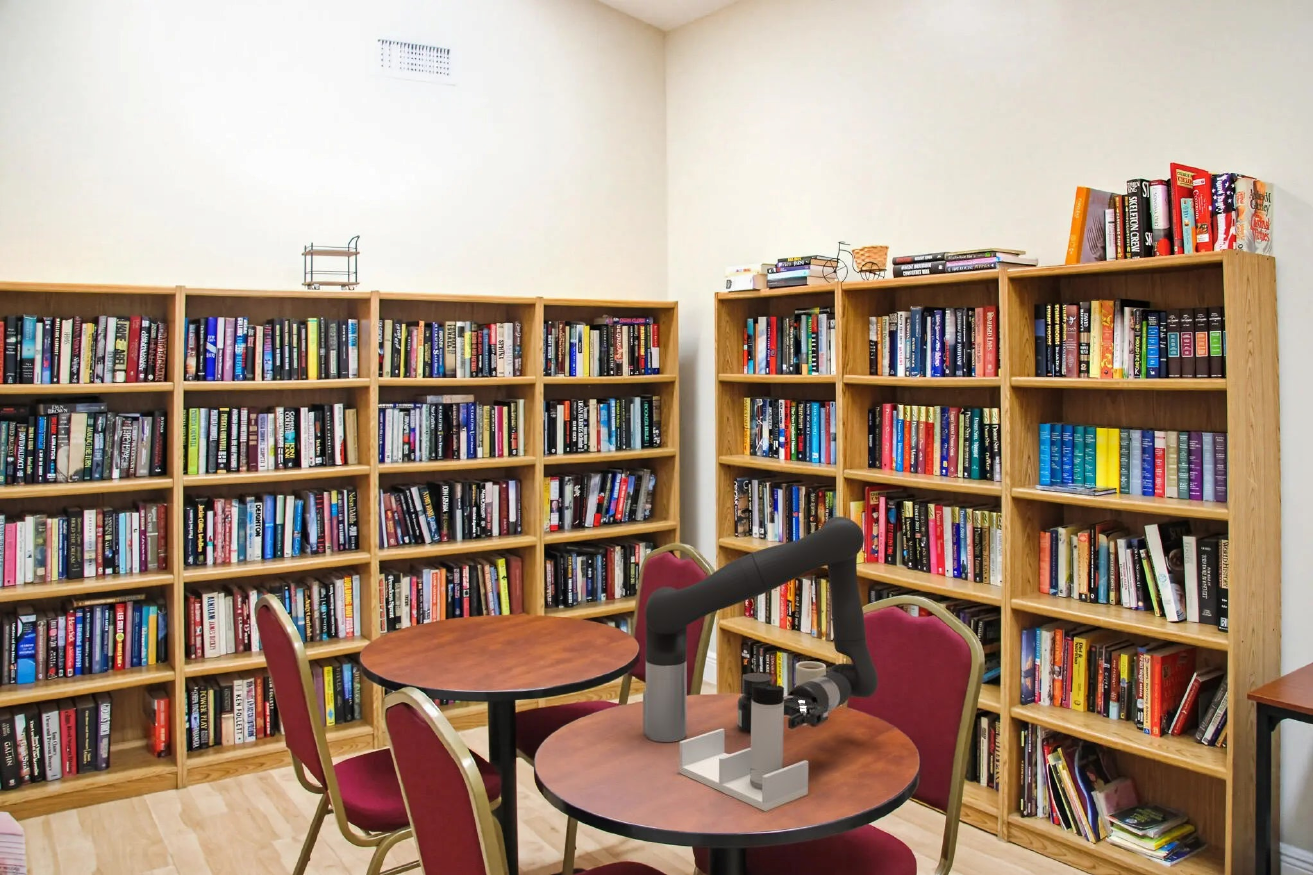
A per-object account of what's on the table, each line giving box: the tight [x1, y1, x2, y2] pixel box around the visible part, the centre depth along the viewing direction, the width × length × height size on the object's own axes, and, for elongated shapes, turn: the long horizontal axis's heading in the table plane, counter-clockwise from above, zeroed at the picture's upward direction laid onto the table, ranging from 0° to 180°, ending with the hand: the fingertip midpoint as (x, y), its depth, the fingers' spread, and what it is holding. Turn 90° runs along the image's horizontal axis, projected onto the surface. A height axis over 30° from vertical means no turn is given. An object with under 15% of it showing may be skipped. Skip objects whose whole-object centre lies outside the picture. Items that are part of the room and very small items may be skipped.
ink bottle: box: [736, 672, 773, 734], centre depth 234 cm, size 10×9×12 cm
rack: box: [679, 728, 809, 812], centre depth 202 cm, size 24×12×6 cm, turn 41°
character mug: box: [795, 660, 827, 687], centre depth 240 cm, size 11×7×13 cm, turn 25°
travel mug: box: [750, 683, 785, 789], centre depth 198 cm, size 6×7×20 cm
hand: (771, 718), depth 199 cm, fingers open, 8 cm apart
